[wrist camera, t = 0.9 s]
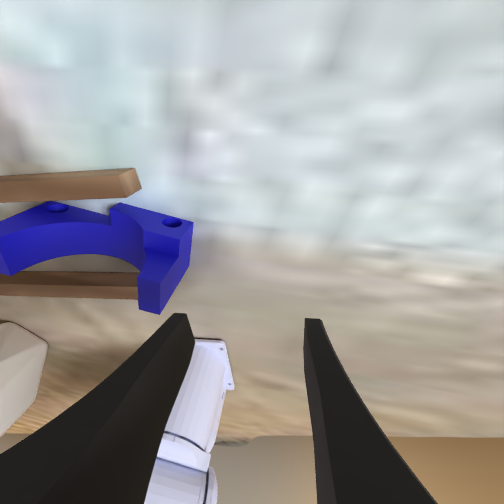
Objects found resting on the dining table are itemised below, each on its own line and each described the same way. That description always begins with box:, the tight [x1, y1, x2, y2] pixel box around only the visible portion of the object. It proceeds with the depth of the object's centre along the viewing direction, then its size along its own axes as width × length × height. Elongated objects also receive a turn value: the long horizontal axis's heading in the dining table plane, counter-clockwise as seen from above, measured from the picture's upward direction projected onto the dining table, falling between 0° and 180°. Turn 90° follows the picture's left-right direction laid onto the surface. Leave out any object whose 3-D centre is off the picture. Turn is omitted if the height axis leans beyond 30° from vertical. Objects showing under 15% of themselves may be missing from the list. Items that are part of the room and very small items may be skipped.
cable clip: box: [0, 201, 194, 315], centre depth 18 cm, size 12×4×6 cm, turn 77°
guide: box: [0, 168, 142, 300], centre depth 20 cm, size 11×22×3 cm, turn 95°
